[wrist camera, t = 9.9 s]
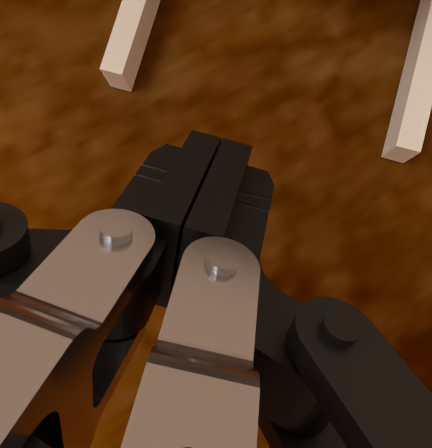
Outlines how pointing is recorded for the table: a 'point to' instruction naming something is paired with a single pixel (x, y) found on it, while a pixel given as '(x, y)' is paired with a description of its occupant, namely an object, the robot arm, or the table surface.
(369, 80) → the table surface
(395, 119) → the guide track
